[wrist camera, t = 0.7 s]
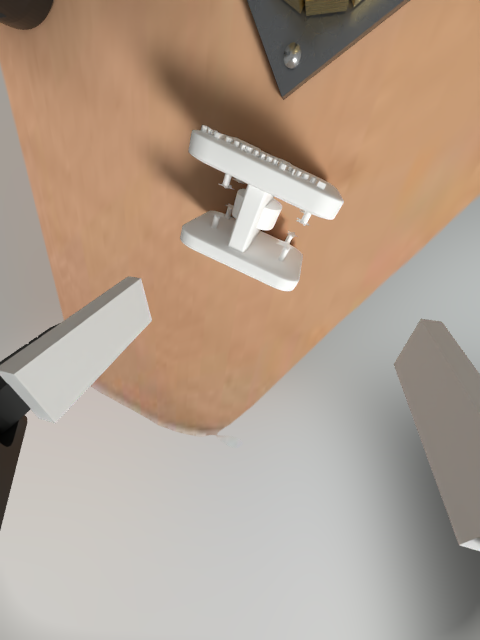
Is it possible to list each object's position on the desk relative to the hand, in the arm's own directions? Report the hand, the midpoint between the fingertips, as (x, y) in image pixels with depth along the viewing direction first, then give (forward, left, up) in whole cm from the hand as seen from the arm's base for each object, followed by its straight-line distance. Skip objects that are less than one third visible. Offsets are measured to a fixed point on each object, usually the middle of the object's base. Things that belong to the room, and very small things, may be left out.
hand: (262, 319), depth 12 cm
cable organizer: (-3, -3, -25) cm, 26 cm away
